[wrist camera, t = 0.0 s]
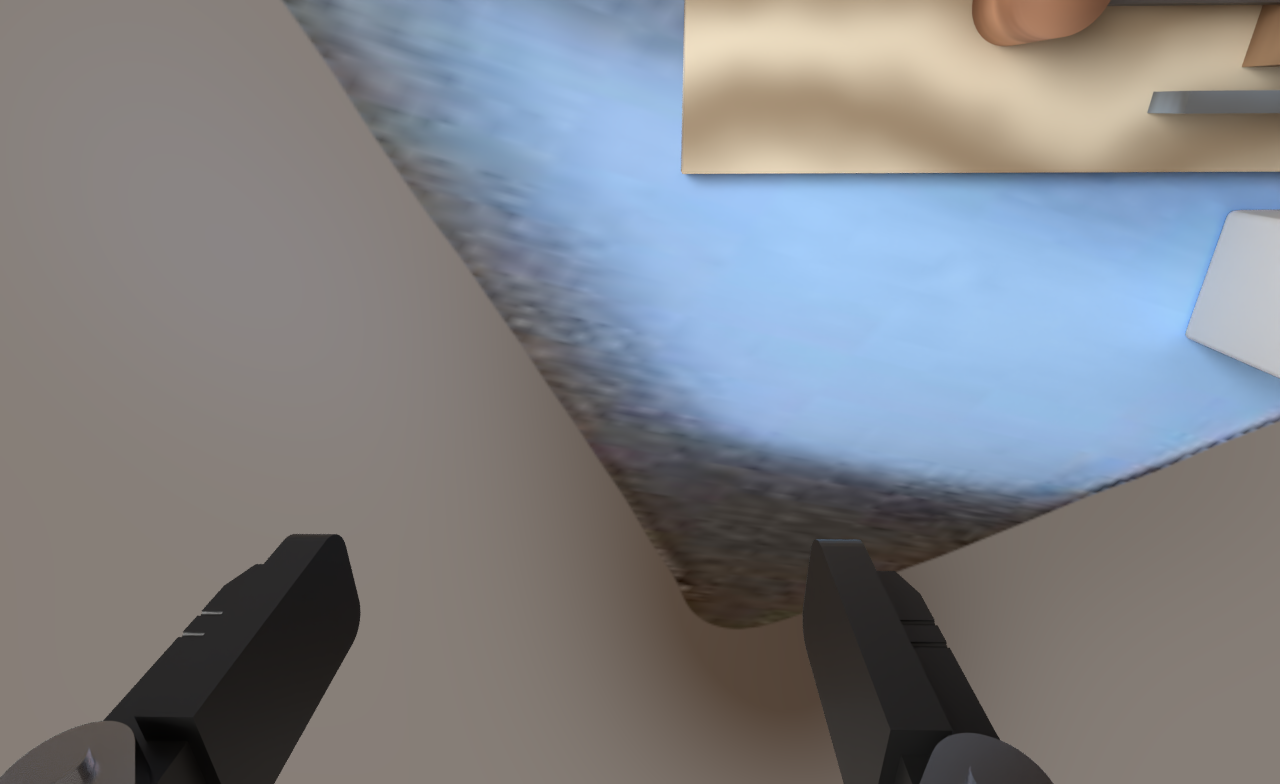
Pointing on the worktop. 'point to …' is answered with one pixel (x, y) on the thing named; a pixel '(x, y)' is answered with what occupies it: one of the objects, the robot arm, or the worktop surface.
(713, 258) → the worktop surface
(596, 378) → the worktop surface
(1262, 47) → the wooden joystick
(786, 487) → the worktop surface
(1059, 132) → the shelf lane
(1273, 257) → the container
